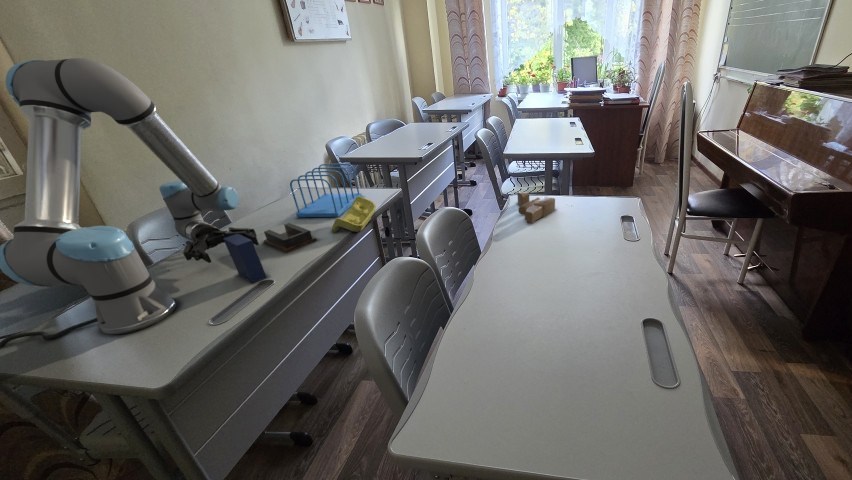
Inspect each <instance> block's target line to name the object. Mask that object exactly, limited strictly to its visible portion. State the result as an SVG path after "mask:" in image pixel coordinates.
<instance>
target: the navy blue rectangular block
mask: <svg viewBox="0 0 852 480" xmlns="http://www.w3.org/2000/svg"><path fill="white" fill-rule="evenodd" d="M223 240H224V242H225V243H224V244H225V246H226V248H227V251H228V253H229V255H230V257H231V260H232V262H233V264H234V267H235V269H236V271H237V273H238V275H239V276H240V277H242V278H243V279H245V280H247V282H248V281H249V282H250V283H252V284H255V283H257V282H259V281H262V280H264V279H267V274H266V271H265V269H264V267H263V264H262V262H261V259H260V256H259V254H258V252H257V249H256V247H255V244H253V242H252V240H250V239H248V238H246V237H244V236H242V235H239V234H235V235H232V236H229V237H226V238H223Z"/></svg>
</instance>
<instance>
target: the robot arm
mask: <svg viewBox="0 0 852 480" xmlns="http://www.w3.org/2000/svg"><path fill="white" fill-rule="evenodd" d="M4 82H5V88H6V90H7V93H8V94H9V95H11V96H12V100H13V101H14V102H15V103H16V104H17V105H18V109H19V110H18V111H19V112H20V113H21V114H22V115H24V117H26V118H27V119H28V131H27V133H28V135H27V155H26V176H25V177H26V178H25V179H26V180H25V200H24V204H25V205H24V219H23V220H22V221H20V222H18V223H17V224H15V225H14V226H13V234H12V235H13V238H11V239H8V240H6V241H5V243H3V244H1V245H0V270H1V271H2V273H3V274H4V275H5V276H7V277H8V278H9V279H11V280H13V282H16V283H18V284H21V285H25V286H31V287H33V286H34V287H43V288H44V287H47V288H48V287H49V288H50V287H60V286H64V287H65V286H83V287H84V288H85V290H86V292H87V293H88V294H89V296H90V297H91V298H92V300H93V302H94V307H95V308H94V309H95V314H96V317H95V318H91V319H88V320H86V321H83V322H80V323H77V324H75V325H72V326H69V327H66V328H65V329H63V330H61V331H60V330H59V331H58V332H56V333H54V334H48V333H47V331H43V330H40V331H39V330H38V331H28V332H27V331H26V332H21V333H17V334H12V335H10V336H7V337H5V338H4V339H2V340H0V348H3V347H5V346H6V345H7V344H8V343H9V342H11V341H13V340H17V339H20V338H27V337H39V336H41V338H42V339H43V340H48V341H49V340H53V339H54V340H55V339H57V338H59V337H62V336H63V335H66V334H68V333H70V332H72V331H75V330H78V329H80V328H83V327H86V326H89V325H92V324H95V323H97V325H98V327H99V328H100V330H101V331H102V332H103V333H105V334H107V335H123V334H128V333H132V332H136V331H140V330H143V329H145V328H148V327H151V326H153V325H155V324H157V323H159V322H161V321H162V320H164V319H165V318H168V317H169V316H170V315H171V314H172V313H173V312H174V311H175V310H176V308H177V303H176V301H175V299H174V297H173V296H171V295H170V294H169V293H168V292H167V291H166V290H165V289H164V288H162V287H161V286H160V285H158V284H157V283H156V282H155V281H154V280H153V278H152V276H151V274H150V273H149V271H148V269H147V267H146V265H145V264H144V262H143V260H142V258H141V257H140V255H139V252H138V251H137V249H136V247H135V245H134V242H133V241H132V240H130V238H129V237H128V235H127V234H126V232H125V231H123V230H122V229H121V228H118V227H115V226H110V225H92V226H89V227H86V226H85V227H82V226H80V224H79V220H80V196H81V193H80V192H81V169H82V167H81V166H82V142H83V140H82V138H83V131H85V130H87V129H89V128H91V126H92V114H93V113H103V114H105V115H107V116H109V117H110V118H111V119H112V120H114V121H115V123H116V124H118V125H119V126H124V127H126V128H128V129H129V130H130V131H131V133H132V134H133V135H135V136H136V138H137V139H138V140H140V142H141V143H142V144H144V145H145V147H147V148H148V149H149V151H151V152H152V153H153V154H154V155H155V156H156V158H158V159H159V161H161V162H162V163H163V164H164V165H165V167H167V168H168V170H170V171H171V172H172V174H174V175H175V176H176V177H177V178H178V180H173V181H169V182H165V183H163V184H161V185H159V187H158V188H159V192H160V195H161V197H162V200H163V201H164V203H165V205H166V207H167V209H168V211H169V213H170V215H171V217H172V219H173V222H174V230H175V232H176V233H178V234H179V235H180V236H181V237H183V238H184V239H186V241H185V244H186V245H185V247H184V249H183V251H182V254H183V256H184V258H185V259H186V261H190V260H192V259H193V258H194V260H195V261H196V262H197V261H200V260H203V261H204V262H206V263H208V264H210V263H212V259H211V257H210V256H209V253H207V252H206V251H207V250H210V249H212V248H215V247H217V246H219V245H221V244H223V243H224V244H225V242H224V240H223V238H226V237H229V236H232V235H235V234H239V235H242V236H244V237H246V238H248V239H250V240H252V242H253V244H254V246H259V245H260V244H259V241H258V239H257V232H256V230H255V229H254V228H245V227H244V228H240V227H232V226H230V227H228V230H221V229H219V228H218V227H217V226H215V225H213V224H211V223H208V222H206V221H204V218H203V216H202V215H201V212H225V211H233V210H235V209H237V208H238V206H239V204H240V197H239V193H238V192H237V190H236V189H235V188H234V187H231V186H226V185H223V186H222V185H221V184H220V182H218V180H217V179H216V178H215V177H214V176H213V175H212V173H211V172H209V170H208V169H207V168H206V167H205V165H204V164H202V162H201V161H200V160H199V159H198V158H197V157H196V156H195V154H194V153H193V152H192V151H191V150H190V149H189V148H188V147H187V146H186V144H184V142H183V141H182V140H181V139H180V137H178V135H176V134H175V132H174V131H173V130H172V129H171V128H170V126H169V125H168V124H167V123H166V122H165V121H164V120H163V119H162V118H161V117H160V115H159V114H158V113H157V112H156V110H157V106H156V105H155V103H154V102H153V101H152V100H151V99H150V97H148V95H146V94H145V93H144V91H142V90H141V88H139V86H137V85H136V84H134V83H133V82H132V81H131V80H129V79H128V78H127V77H126V76H124V75H123V74H121V73H120V72H118V71H116V70H115V69H113V68H111V67H110V66H108V65H106V64H103V63H102V62H99V61H96V60H92V59H90V58H84V57H73V58H62V59H50V60H45V59H32V60H31V59H30V60H27V61H22V62H19V63H16V64H14V65H12V66H11V67H10V68H9V69H8V70H7V72H6V75H5V81H4Z"/></svg>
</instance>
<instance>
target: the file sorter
mask: <svg viewBox="0 0 852 480" xmlns="http://www.w3.org/2000/svg"><path fill="white" fill-rule="evenodd" d="M326 166H327V167H326ZM342 166H348V167H350V168H351V169H352V172H353V173H352V174H353V178H354V182H355V185H356V186H355V187H356V191H357V193H356V192H354V190H353V186H352V183H351V177H350V174H349V171H348V170H347V168H346V167H342ZM337 169H341V170H344V171H345V173H346V175H347V179H348V180H347V181H348V184H349V187H350V193H349V192H347V188H346V183H345V179H344V176H343V174H342V173H341V172H340V171H338V170H337ZM315 173H318V174H315ZM322 173H337V174H338V175H339V176H340V178H341V182H342V186H343V190H344V193H340V189H339V185H338V181H337V179H336V177H335V176H333V175H332V174H322ZM302 177H303V178H302ZM309 177H312V178H309ZM315 177H319V178H315ZM323 177H331V179H333V180H334V183H335V187H336V191H337V193H333V191H332V186H331V183H330V182H329V180H327V179H325V178H323ZM296 181H297V185H298V189H299V192H300V195H301V199H302V201H303V205H304V207H303V208H302V209H300V208H299V203H298V202H297V197H296V194H295V192H294V188H293V182H296ZM301 181H305V183H306V186H307V190H308V193H309V197H310V200H311V203H309V204H308V205H307V203H306V199H305V195H304V193H303V190H302V189H303V188H302V185H301ZM309 181H313V183H314V188H315V191H316V194H317V198H316V199H315V200H314V198H313V194H312V191H311V188H310V184H309ZM317 181H320V182H321V186H322V190H323V194H322V195H320V193H319V190H318V186H317ZM324 182H325V183H327V186H328V188H329V193H327V191H326V188H325V184H324ZM289 187H290V190H291V195H292V198H293V201H294V203H295V207H296V210H297V212H296V213H295V215H296V218H340V216H341V215H343V214H344V213H345V212H346V211H348V210H349V209H350V207H351V206H352V204H353V202H354V200H355V199H356V197H358V196H360V197H363V195H362V193H361V192H360V190H359V185H358V181H357V175H356V171H355V168H354V166H353V165H352V164H350V163H322V164H320V165H319V166H318V167H314V168H313V169H312V170H309V171H307V172H305V174H302V175H299V176H298V177H297V178H295V179H294V178H293V179H291V180H290V182H289Z"/></svg>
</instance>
